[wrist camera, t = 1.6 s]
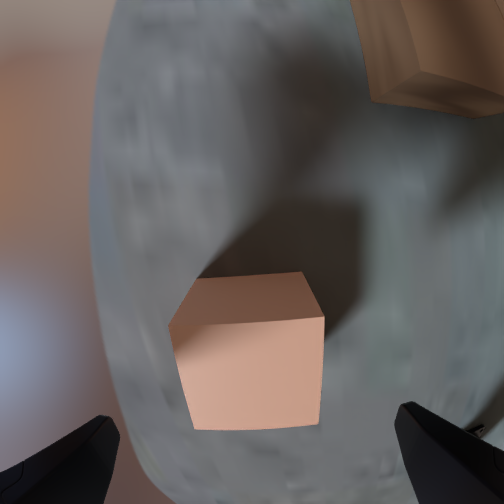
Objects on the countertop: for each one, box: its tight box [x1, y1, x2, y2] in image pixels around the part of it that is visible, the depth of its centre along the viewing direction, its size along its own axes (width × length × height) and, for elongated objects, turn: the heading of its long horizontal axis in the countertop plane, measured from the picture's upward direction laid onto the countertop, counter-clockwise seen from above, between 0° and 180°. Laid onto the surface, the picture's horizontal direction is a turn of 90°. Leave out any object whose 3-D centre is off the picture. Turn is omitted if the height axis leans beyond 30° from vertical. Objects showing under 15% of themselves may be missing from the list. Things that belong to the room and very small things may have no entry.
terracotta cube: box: [168, 272, 325, 430], centre depth 12 cm, size 5×5×5 cm
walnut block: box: [350, 0, 504, 119], centre depth 9 cm, size 7×7×5 cm
